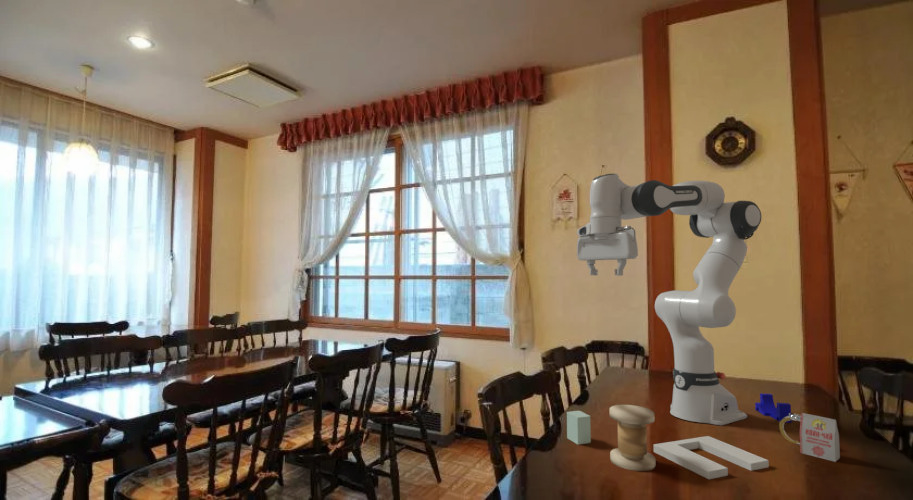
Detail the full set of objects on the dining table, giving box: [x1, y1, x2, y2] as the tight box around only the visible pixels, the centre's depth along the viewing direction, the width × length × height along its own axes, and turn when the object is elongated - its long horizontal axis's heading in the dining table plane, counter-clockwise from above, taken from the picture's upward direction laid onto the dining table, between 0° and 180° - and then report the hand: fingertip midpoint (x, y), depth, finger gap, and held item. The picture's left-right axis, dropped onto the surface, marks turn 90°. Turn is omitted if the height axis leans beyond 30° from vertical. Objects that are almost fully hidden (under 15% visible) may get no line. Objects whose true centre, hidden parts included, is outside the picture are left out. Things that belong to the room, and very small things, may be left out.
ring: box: [778, 412, 801, 445], centre depth 115 cm, size 7×3×8 cm, turn 28°
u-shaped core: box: [653, 435, 770, 480], centre depth 105 cm, size 18×16×2 cm
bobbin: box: [609, 404, 657, 472], centre depth 105 cm, size 10×10×12 cm
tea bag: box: [799, 412, 841, 463], centre depth 107 cm, size 4×7×10 cm, turn 37°
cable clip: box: [754, 393, 792, 424], centre depth 137 cm, size 12×4×6 cm, turn 169°
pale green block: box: [566, 410, 592, 445], centre depth 118 cm, size 4×5×7 cm
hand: (605, 275), depth 129 cm, fingers open, 8 cm apart
